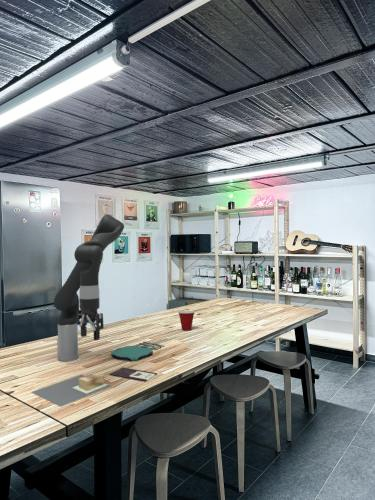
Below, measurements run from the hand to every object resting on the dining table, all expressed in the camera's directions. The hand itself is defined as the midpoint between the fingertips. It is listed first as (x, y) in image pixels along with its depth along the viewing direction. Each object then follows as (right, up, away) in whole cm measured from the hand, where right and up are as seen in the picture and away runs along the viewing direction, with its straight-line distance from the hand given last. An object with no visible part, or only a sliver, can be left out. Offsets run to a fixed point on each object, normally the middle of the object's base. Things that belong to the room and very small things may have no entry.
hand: (90, 338), depth 140 cm
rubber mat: (-6, -19, -4) cm, 20 cm away
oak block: (+1, -18, -1) cm, 18 cm away
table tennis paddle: (+13, -19, +44) cm, 49 cm away
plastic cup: (+38, -17, +89) cm, 98 cm away
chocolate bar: (+15, -19, +12) cm, 27 cm away
